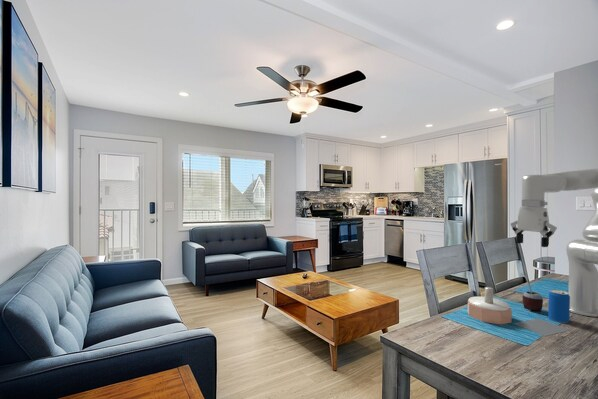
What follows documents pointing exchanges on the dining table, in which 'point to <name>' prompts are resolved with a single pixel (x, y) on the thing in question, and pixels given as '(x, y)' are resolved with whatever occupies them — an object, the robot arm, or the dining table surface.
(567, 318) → the beverage can
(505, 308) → the lid
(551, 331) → the mat
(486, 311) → the octagonal ring frame
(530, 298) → the mate gourd
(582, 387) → the dining table surface
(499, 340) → the dining table surface
